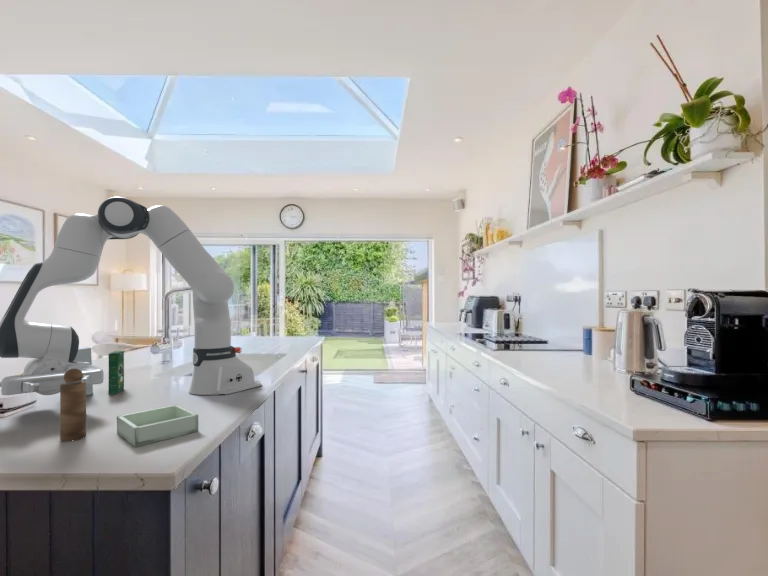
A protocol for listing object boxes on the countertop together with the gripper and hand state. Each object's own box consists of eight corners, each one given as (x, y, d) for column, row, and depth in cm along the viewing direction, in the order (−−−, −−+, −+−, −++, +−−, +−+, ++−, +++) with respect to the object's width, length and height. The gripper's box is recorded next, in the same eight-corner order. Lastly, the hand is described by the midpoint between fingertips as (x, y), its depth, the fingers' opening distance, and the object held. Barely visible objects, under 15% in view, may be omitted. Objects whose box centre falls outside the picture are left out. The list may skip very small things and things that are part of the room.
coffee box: (114, 389, 138) (114, 350, 138) (124, 388, 139) (124, 349, 139) (107, 395, 131) (107, 353, 131) (118, 394, 132) (118, 352, 132)
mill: (83, 432, 95) (83, 366, 95) (88, 437, 92) (88, 368, 92) (58, 438, 92) (58, 368, 92) (62, 443, 88) (62, 371, 89)
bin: (176, 419, 104) (176, 404, 104) (198, 431, 95) (198, 414, 95) (116, 432, 95) (116, 416, 95) (135, 446, 86) (135, 428, 86)
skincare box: (93, 394, 131) (93, 347, 131) (69, 398, 127) (69, 349, 127) (88, 390, 137) (88, 345, 137) (65, 393, 133) (65, 347, 133)
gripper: (-4, 370, 102) (2, 378, 92) (95, 361, 117) (109, 367, 107) (-4, 396, 102) (1, 406, 92) (95, 383, 117) (108, 391, 107)
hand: (60, 385), depth 100 cm, fingers open, 8 cm apart
